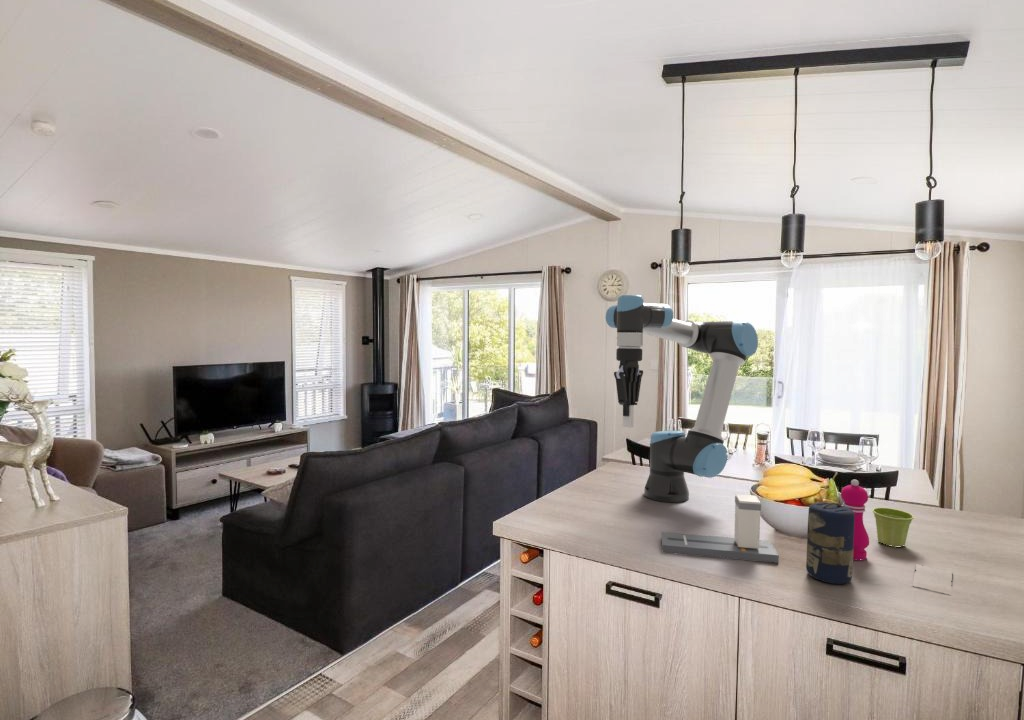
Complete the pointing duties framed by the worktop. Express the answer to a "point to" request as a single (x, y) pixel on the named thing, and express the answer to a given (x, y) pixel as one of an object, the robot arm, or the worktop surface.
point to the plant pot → (892, 525)
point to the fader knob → (747, 521)
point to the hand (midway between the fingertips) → (627, 426)
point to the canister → (830, 542)
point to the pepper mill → (857, 516)
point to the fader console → (716, 547)
